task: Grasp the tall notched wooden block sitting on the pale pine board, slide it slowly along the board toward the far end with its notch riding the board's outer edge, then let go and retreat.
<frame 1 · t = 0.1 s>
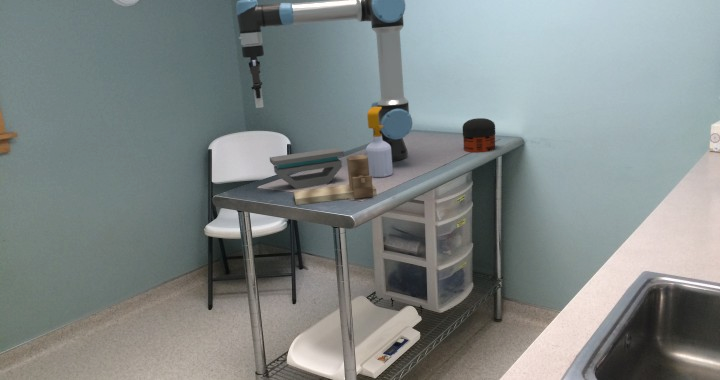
hand: (259, 105, 225), 28 cm above the table, fingers open, 13 cm apart
grey slotted trapezoid block: (309, 184, 221), on the table
notched wooden block: (359, 186, 204), point 2 cm above the table, touching board
board: (334, 196, 203), on the table
soap bottle: (380, 175, 226), on the table
oil filter: (479, 149, 254), on the table
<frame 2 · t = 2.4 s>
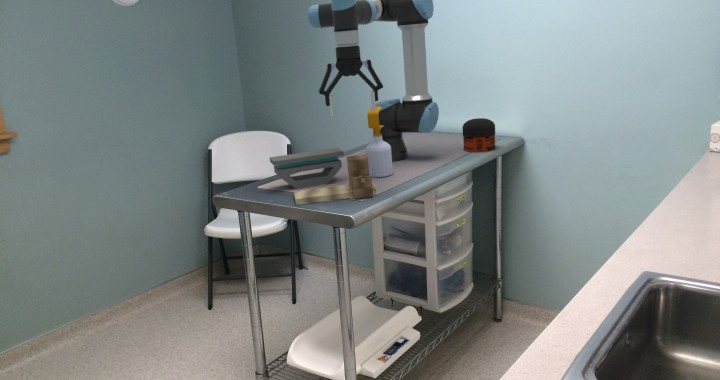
hand: (353, 114, 197), 26 cm above the table, fingers open, 13 cm apart
nothing on the table moved.
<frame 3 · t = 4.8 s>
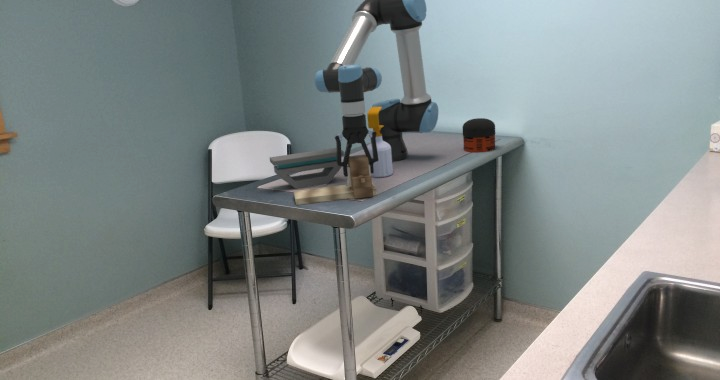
hand: (359, 184, 203), 3 cm above the table, fingers closed on notched wooden block, 6 cm apart
notched wooden block: (359, 186, 204), point 2 cm above the table, touching board, gripper
everything else where it was.
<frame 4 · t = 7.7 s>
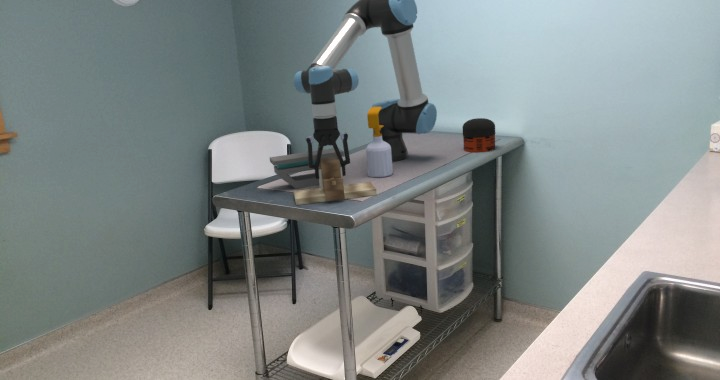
hand: (331, 186, 202), 3 cm above the table, fingers closed on notched wooden block, 6 cm apart
notched wooden block: (331, 189, 202), point 2 cm above the table, touching gripper
everything else where it was.
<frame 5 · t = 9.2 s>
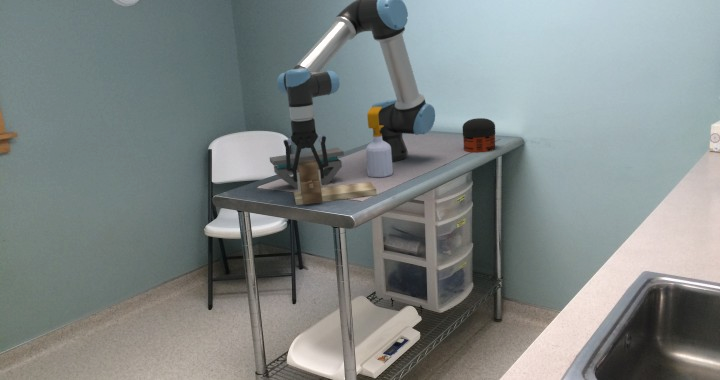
hand: (310, 189, 201), 3 cm above the table, fingers closed on notched wooden block, 6 cm apart
notched wooden block: (310, 192, 201), point 2 cm above the table, touching gripper
everything else where it was.
when the fingers open (3 cm above the table, at t = 10.7 s): notched wooden block stays where it is, resting on board.
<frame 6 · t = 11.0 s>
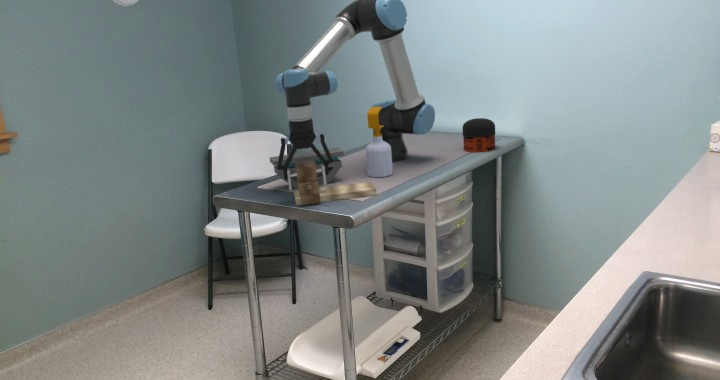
hand: (307, 186, 201), 4 cm above the table, fingers open, 10 cm apart
notched wooden block: (308, 193, 201), point 2 cm above the table, touching board
everything else where it was.
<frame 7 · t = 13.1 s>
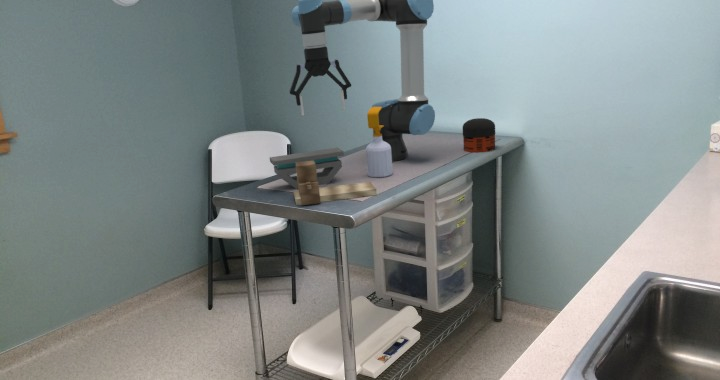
hand: (323, 112, 205), 26 cm above the table, fingers open, 13 cm apart
nothing on the table moved.
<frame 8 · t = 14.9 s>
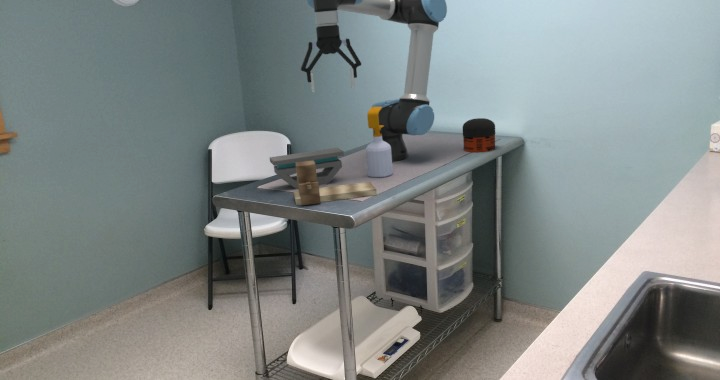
hand: (333, 90, 209), 33 cm above the table, fingers open, 13 cm apart
nothing on the table moved.
at the end: notched wooden block inside the target area (0.4 cm from its centre), point 2.0 cm above the table; notched wooden block tilted 0°; the gripper is holding nothing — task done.
